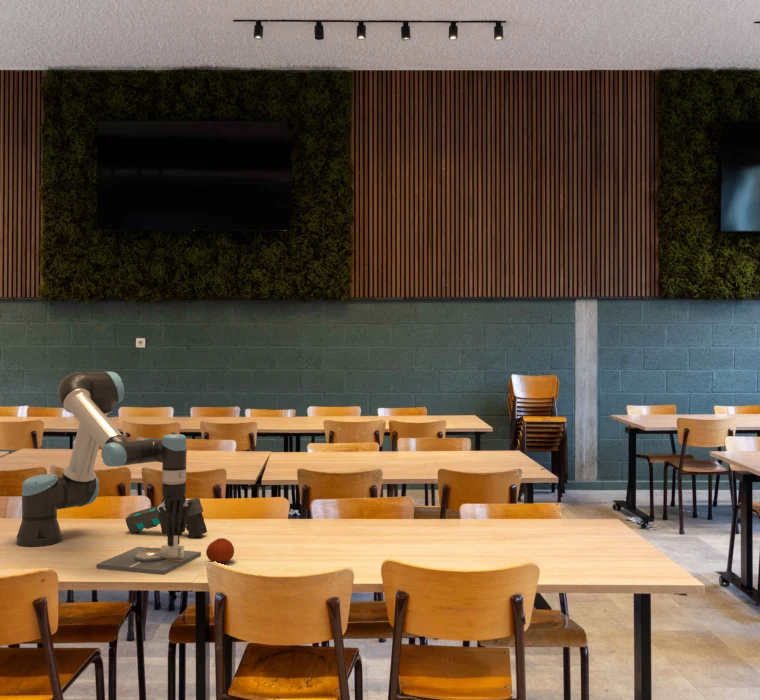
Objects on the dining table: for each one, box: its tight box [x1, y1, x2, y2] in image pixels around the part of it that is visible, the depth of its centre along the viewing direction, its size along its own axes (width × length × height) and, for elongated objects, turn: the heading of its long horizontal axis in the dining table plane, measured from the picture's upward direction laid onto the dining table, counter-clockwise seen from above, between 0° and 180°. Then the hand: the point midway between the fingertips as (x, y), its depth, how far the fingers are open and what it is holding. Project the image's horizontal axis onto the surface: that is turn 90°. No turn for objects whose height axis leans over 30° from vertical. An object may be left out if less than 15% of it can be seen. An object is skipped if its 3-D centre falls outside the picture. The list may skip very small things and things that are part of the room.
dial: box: [134, 544, 185, 562], centre depth 266 cm, size 16×10×4 cm, turn 83°
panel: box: [96, 546, 202, 575], centre depth 267 cm, size 24×24×1 cm
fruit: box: [205, 537, 235, 564], centre depth 267 cm, size 9×9×8 cm
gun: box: [125, 497, 208, 539], centre depth 305 cm, size 7×29×15 cm, turn 76°
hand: (173, 555), depth 263 cm, fingers closed
